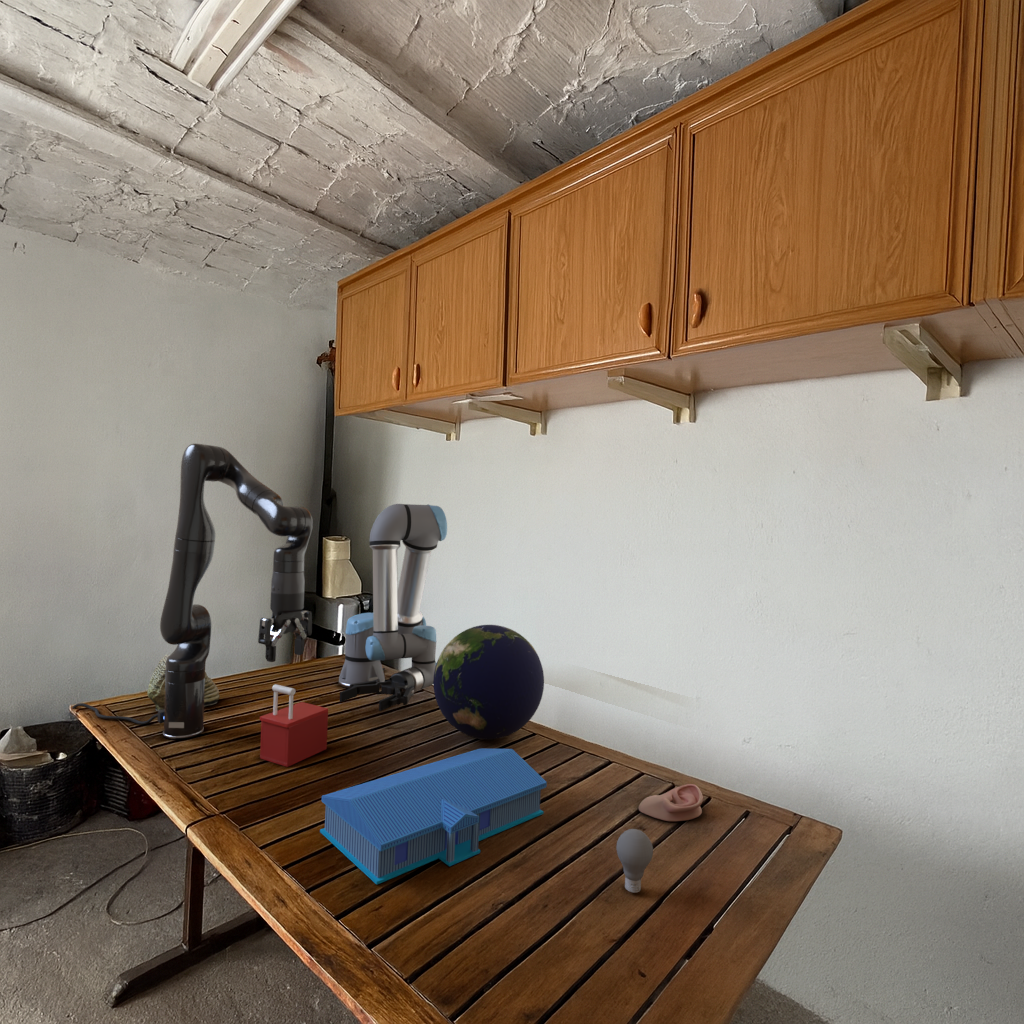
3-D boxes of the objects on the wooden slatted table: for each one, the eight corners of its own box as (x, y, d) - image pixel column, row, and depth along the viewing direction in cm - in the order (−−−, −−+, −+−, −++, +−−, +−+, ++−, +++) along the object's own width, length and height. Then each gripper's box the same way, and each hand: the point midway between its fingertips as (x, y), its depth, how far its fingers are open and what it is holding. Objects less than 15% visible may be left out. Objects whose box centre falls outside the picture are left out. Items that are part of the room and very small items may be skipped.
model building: (386, 894, 102) (389, 832, 102) (318, 830, 120) (320, 778, 120) (555, 819, 128) (557, 770, 128) (478, 776, 146) (480, 733, 146)
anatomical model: (639, 798, 130) (639, 775, 142) (638, 817, 130) (638, 792, 142) (706, 807, 128) (701, 783, 139) (705, 826, 128) (700, 800, 139)
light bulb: (610, 879, 108) (613, 822, 108) (644, 879, 109) (647, 822, 109) (619, 902, 102) (622, 840, 102) (655, 901, 103) (658, 840, 103)
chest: (287, 767, 147) (288, 727, 147) (259, 758, 152) (261, 719, 151) (326, 748, 159) (328, 712, 159) (300, 741, 163) (301, 705, 163)
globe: (409, 744, 164) (414, 628, 163) (461, 710, 191) (466, 611, 191) (517, 767, 152) (522, 643, 152) (556, 727, 180) (560, 623, 180)
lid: (287, 727, 147) (288, 692, 147) (259, 720, 151) (260, 686, 151) (328, 711, 159) (329, 679, 158) (301, 705, 163) (302, 673, 163)
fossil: (144, 707, 182) (145, 655, 182) (212, 696, 194) (213, 647, 194) (151, 716, 175) (153, 662, 175) (221, 703, 188) (223, 653, 188)
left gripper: (275, 595, 143) (272, 666, 143) (321, 588, 155) (318, 654, 156) (252, 591, 146) (249, 661, 146) (298, 585, 159) (296, 649, 159)
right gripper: (439, 702, 188) (396, 723, 169) (372, 688, 199) (324, 706, 180) (440, 677, 188) (397, 695, 169) (372, 664, 199) (325, 680, 180)
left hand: (285, 657), depth 151 cm, fingers open, 8 cm apart
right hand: (359, 701), depth 174 cm, fingers open, 13 cm apart
